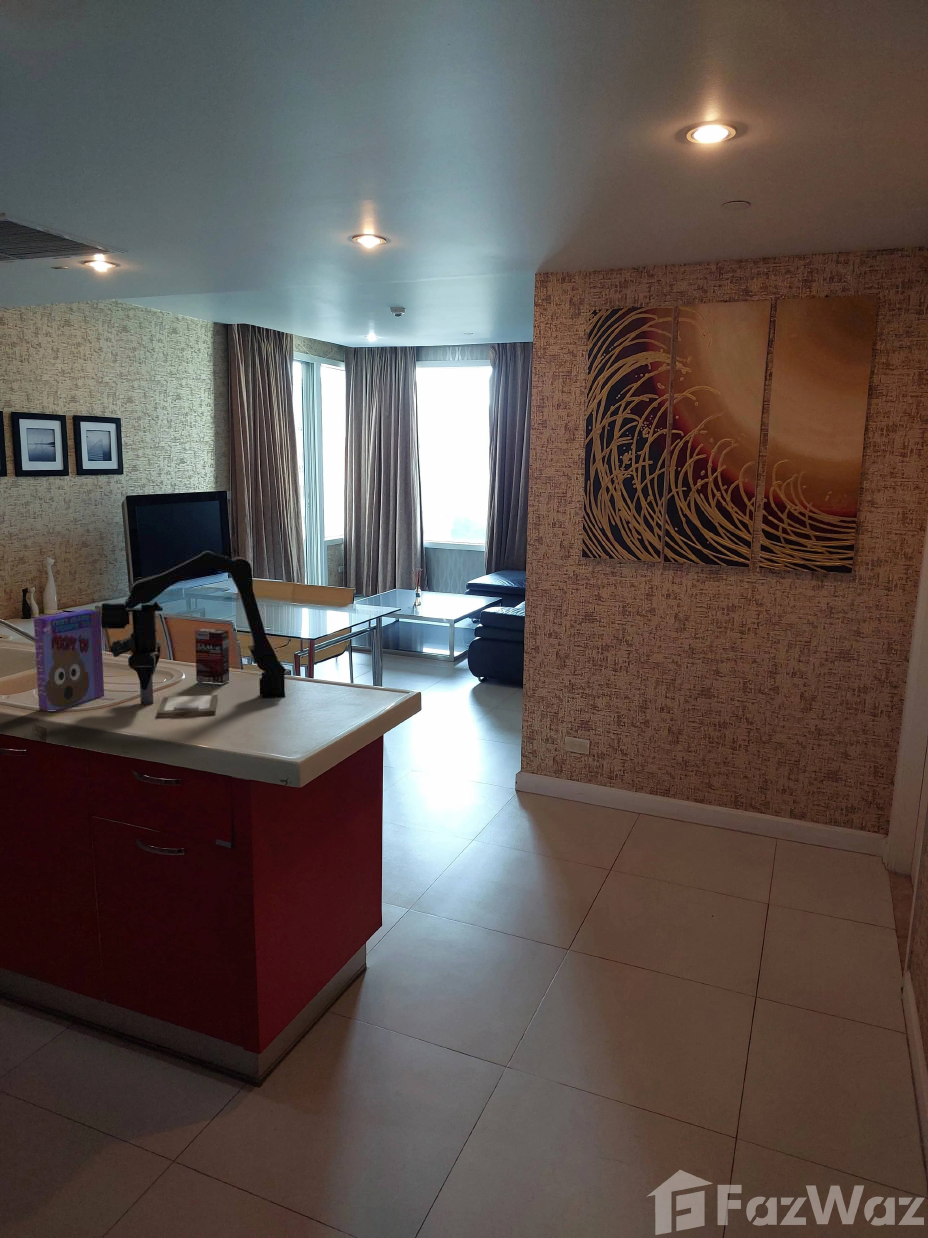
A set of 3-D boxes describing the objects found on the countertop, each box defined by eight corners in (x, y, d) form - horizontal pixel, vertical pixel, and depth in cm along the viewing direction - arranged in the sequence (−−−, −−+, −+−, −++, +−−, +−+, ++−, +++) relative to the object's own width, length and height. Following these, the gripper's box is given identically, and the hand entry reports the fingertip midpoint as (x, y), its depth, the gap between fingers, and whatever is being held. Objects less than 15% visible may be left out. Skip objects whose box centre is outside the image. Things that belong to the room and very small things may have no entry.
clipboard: (217, 698, 221) (217, 691, 221) (215, 715, 206) (214, 706, 206) (163, 701, 218) (163, 693, 217) (157, 717, 202) (156, 709, 202)
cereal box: (53, 712, 205) (48, 619, 201) (39, 710, 206) (33, 618, 202) (104, 696, 221) (100, 610, 217) (90, 694, 223) (86, 608, 219)
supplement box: (195, 683, 237) (194, 630, 235) (203, 680, 242) (202, 628, 239) (223, 685, 236) (221, 632, 233) (230, 681, 240) (229, 629, 238)
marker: (154, 701, 217) (152, 658, 215) (153, 705, 214) (151, 660, 212) (141, 702, 216) (139, 658, 214) (139, 705, 213) (137, 661, 211)
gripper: (117, 622, 218) (119, 678, 221) (105, 635, 200) (108, 695, 203) (160, 621, 221) (162, 676, 224) (152, 634, 203) (155, 693, 206)
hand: (146, 685), depth 214 cm, fingers open, 9 cm apart
